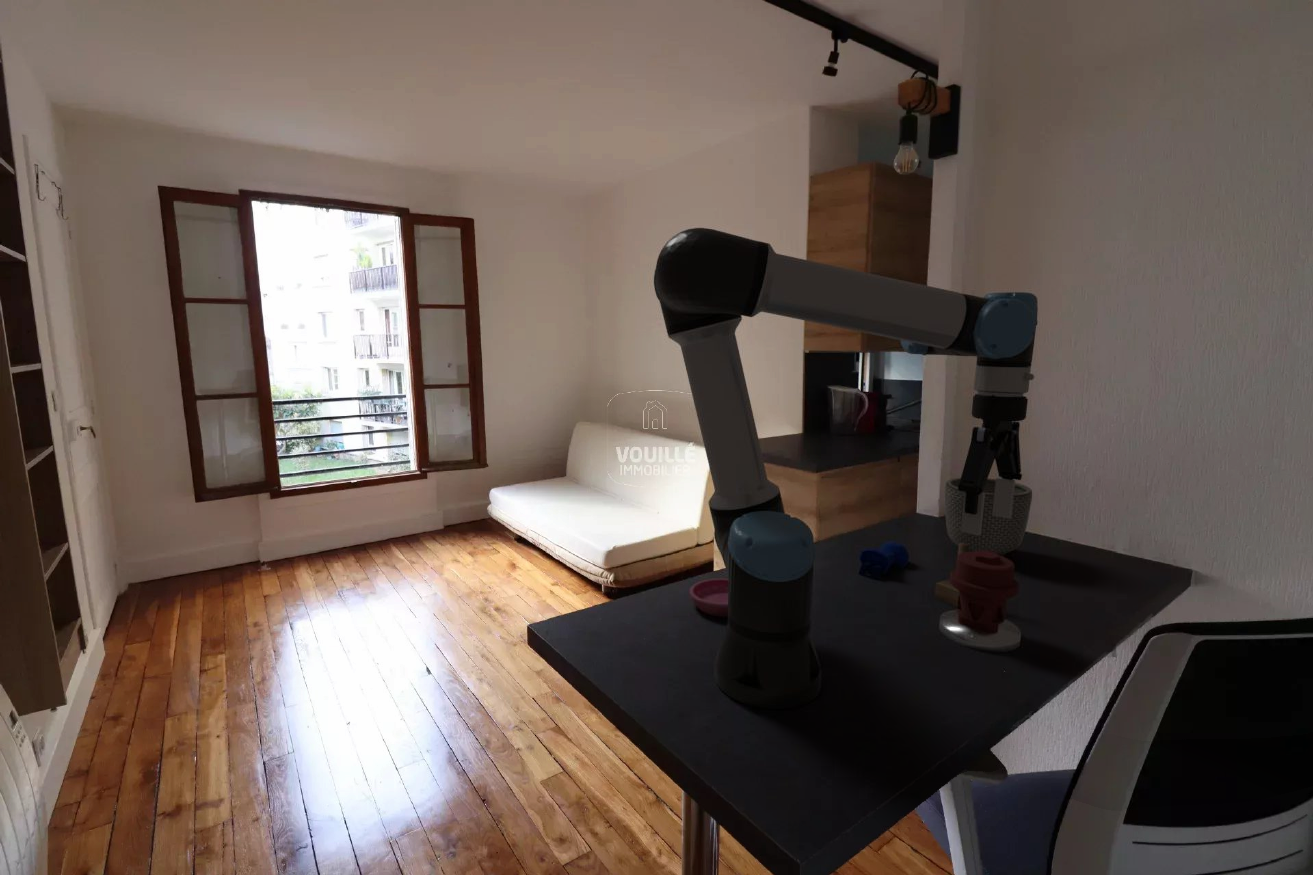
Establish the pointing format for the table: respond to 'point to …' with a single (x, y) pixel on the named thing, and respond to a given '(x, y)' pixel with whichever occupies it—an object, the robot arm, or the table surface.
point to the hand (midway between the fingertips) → (986, 524)
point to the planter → (988, 519)
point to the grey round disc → (980, 634)
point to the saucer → (711, 596)
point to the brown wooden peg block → (945, 588)
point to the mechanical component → (983, 588)
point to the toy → (883, 559)
